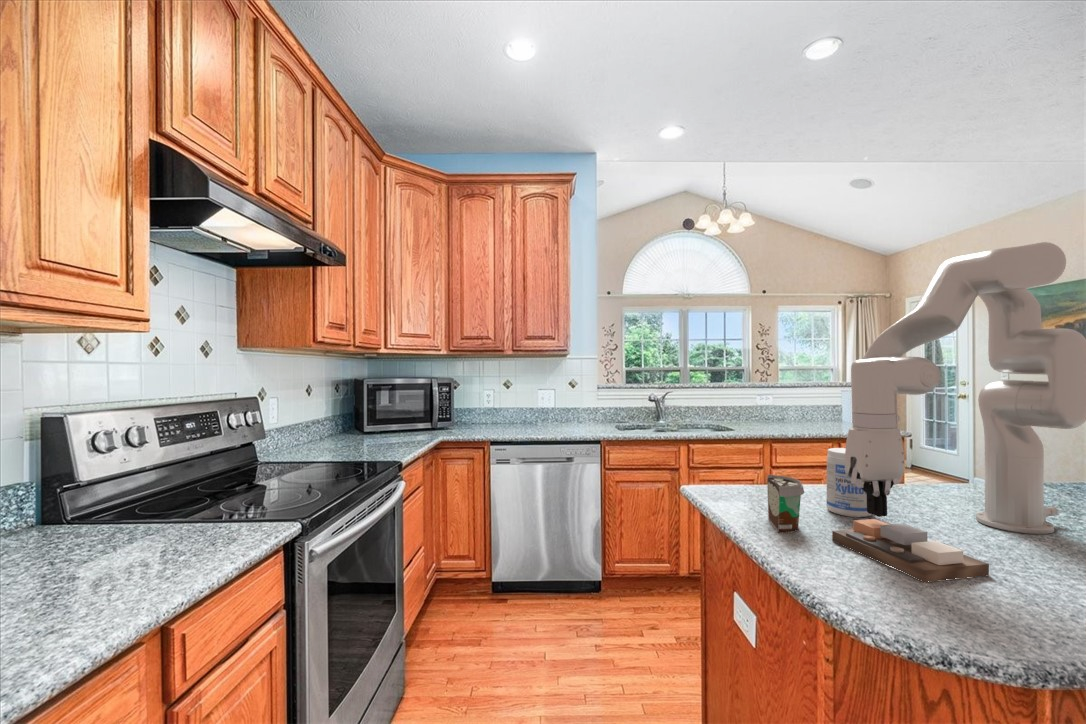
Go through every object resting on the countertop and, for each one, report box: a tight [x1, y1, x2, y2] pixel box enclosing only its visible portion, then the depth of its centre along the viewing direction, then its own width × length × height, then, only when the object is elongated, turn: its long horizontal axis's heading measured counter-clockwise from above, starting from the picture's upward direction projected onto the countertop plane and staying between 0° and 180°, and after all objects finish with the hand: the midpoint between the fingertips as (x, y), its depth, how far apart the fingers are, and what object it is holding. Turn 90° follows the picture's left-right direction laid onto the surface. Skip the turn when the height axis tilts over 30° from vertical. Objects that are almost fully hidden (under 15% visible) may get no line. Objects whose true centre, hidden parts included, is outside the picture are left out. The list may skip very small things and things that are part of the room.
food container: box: [766, 474, 805, 534], centre depth 113 cm, size 12×6×10 cm, turn 168°
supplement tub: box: [825, 447, 872, 518], centre depth 123 cm, size 10×10×15 cm
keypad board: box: [831, 528, 990, 583], centre depth 95 cm, size 13×20×3 cm, turn 11°
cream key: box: [912, 540, 964, 565], centre depth 88 cm, size 5×5×2 cm
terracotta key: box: [852, 518, 891, 539], centre depth 101 cm, size 5×5×2 cm
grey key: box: [880, 522, 928, 545], centre depth 95 cm, size 5×5×2 cm
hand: (877, 514), depth 101 cm, fingers closed
